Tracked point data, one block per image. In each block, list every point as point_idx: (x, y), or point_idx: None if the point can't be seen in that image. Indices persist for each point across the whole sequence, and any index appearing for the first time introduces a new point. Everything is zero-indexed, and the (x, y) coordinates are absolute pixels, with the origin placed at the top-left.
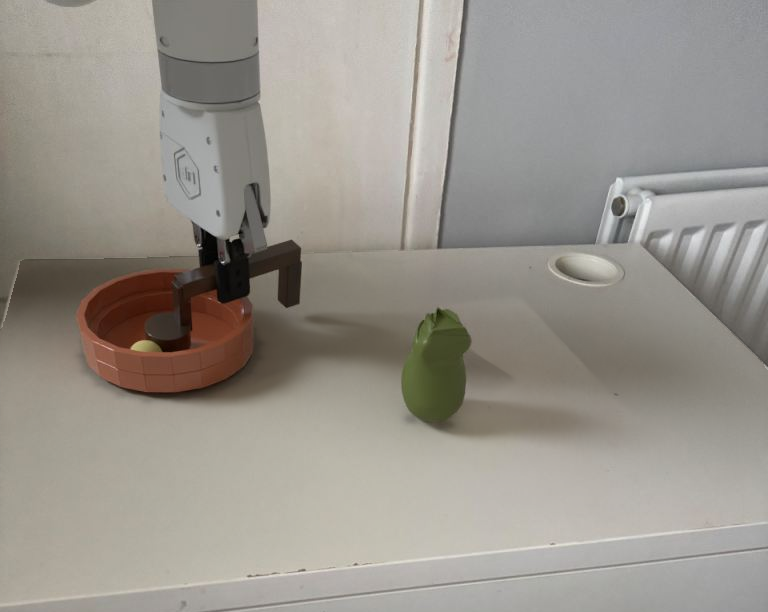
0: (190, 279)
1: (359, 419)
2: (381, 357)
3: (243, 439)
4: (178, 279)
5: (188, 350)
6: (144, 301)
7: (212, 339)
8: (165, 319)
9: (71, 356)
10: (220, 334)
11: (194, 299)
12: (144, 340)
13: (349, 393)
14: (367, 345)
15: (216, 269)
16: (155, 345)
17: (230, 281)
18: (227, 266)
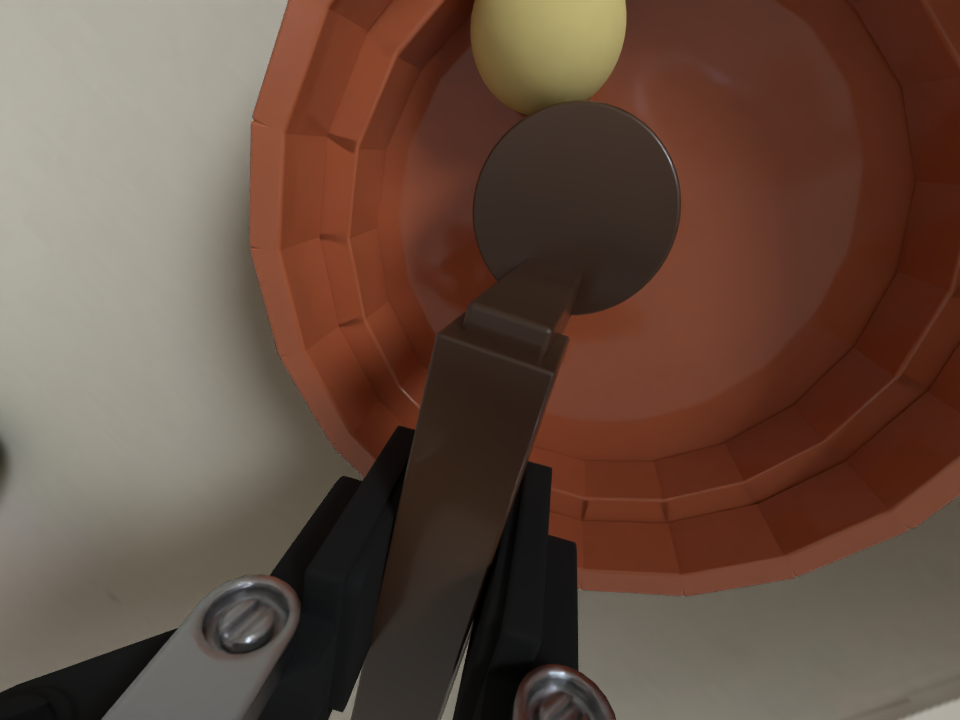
0: (446, 403)
1: (25, 327)
2: (196, 543)
3: (82, 31)
4: (497, 355)
5: (286, 87)
6: (880, 365)
7: None
8: (607, 242)
9: None
10: None
11: (704, 478)
12: (561, 37)
13: (120, 395)
14: (251, 564)
15: (343, 540)
16: (507, 64)
17: (313, 517)
18: (292, 585)
